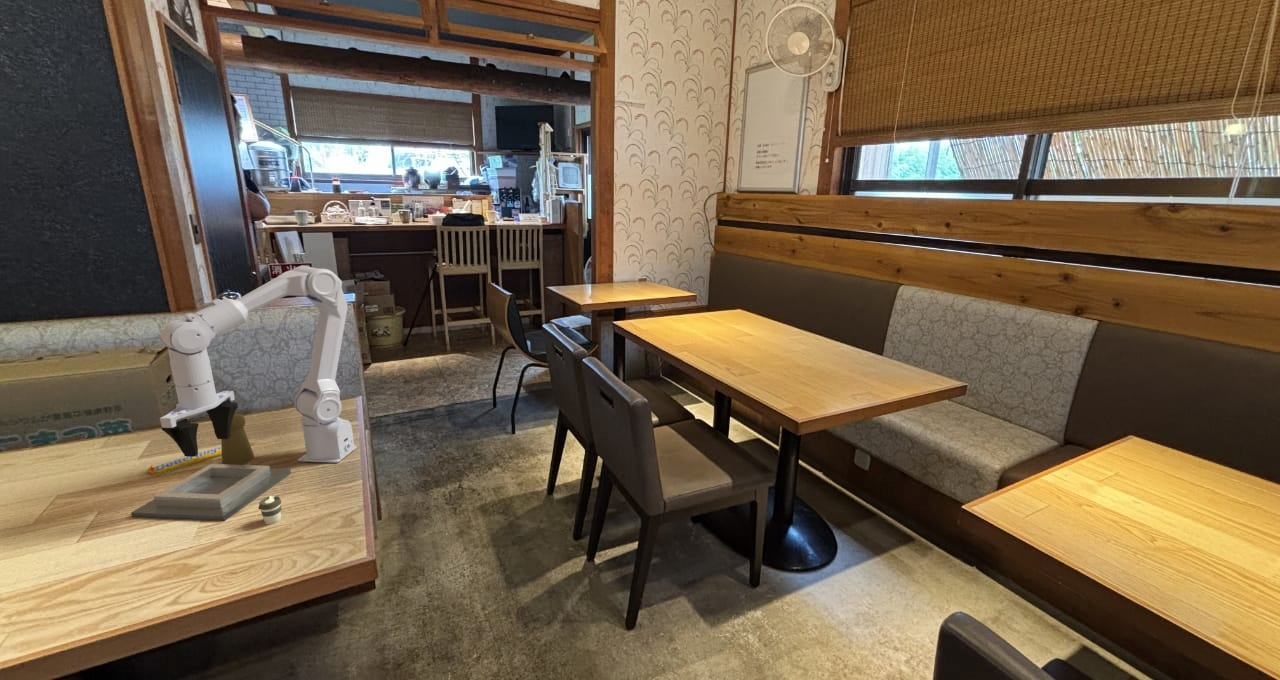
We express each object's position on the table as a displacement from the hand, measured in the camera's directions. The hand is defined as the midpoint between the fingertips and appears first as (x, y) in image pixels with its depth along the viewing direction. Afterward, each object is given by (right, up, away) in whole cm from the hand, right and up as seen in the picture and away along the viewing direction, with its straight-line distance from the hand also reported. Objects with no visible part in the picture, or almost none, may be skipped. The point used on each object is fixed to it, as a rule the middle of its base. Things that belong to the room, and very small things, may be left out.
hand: (207, 446), depth 104 cm
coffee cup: (+17, -13, -6) cm, 23 cm away
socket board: (0, -10, +3) cm, 10 cm away
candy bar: (-16, -7, +16) cm, 23 cm away
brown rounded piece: (-7, -7, +16) cm, 19 cm away
